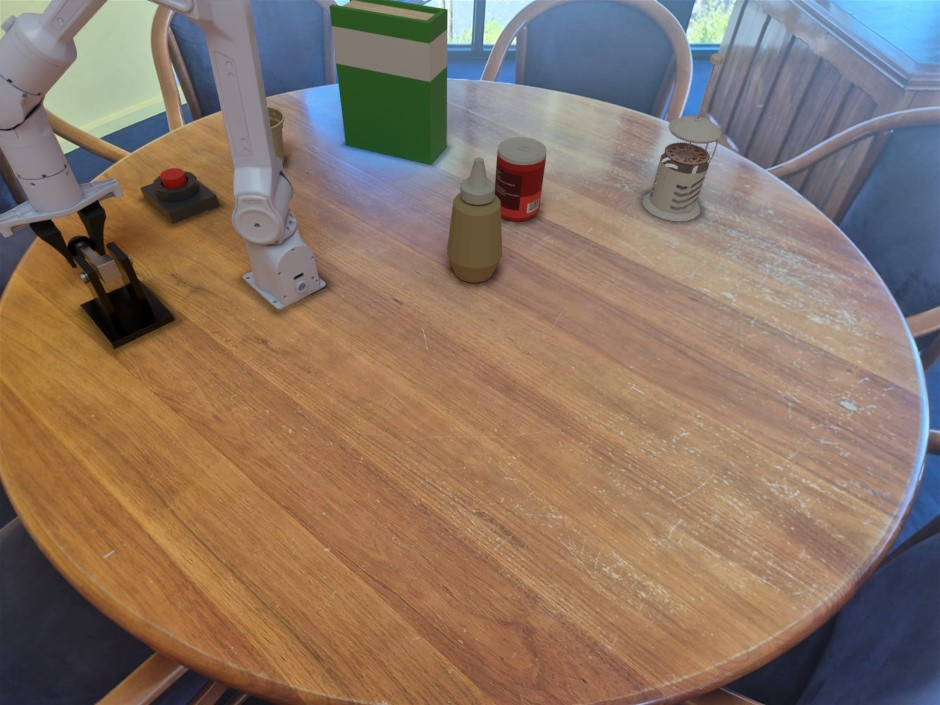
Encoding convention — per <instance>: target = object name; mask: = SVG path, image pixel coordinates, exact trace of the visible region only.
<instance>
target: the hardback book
mask: <svg viewBox="0 0 940 705" xmlns="http://www.w3.org/2000/svg"><path fill="white" fill-rule="evenodd" d="M448 11H449V10H448V9H447V8H443V7H442V8H441V7H436V6H430V5H424V4H418V3H412V2H406V1H399V0H349V1H348V2H347V3H345V4H343V5H338V4H329V15H330V23H331V24H330V25H331V33H332V40H333V49H334V58H335V66H336V74H337V82H338V92H339V100H340V108H341V115H342V116H341V117H342V124H343V125H342V126H343V133H344V140H345V141H344V142H345V143H344V144H345V146H348V147H352V148H356V149H357V148H358V149H360V150H361V149H362V150H364V151H365V150H366V151H370V152H374V153H378V154H383V155H388V156H392V157H395V158H399V159H405V160H409V161H413V162H418V163H421V164H426V165H432V164H433V163H434V162H435V161H436V160H437V158H439V157H440V155H441V154H442V153H443V152H444V151H445V150H446V148H447V145H448V138H447V137H448V26H449V24H448V21H449V20H448V15H449V14H448V13H449V12H448Z"/></svg>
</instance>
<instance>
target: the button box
mask: <svg viewBox="0 0 940 705" xmlns="http://www.w3.org/2000/svg"><path fill="white" fill-rule="evenodd" d="M183 171H184V173H185V176H186V179H187V183H186V184H185V185H184V186H181V187H178V188H165V187H164V186H163V183H162V180H161V178H160V175H159V176H157V177H156V178H155V179H154V180H153V182H152V183H149V184H146V185H143V186H141V187H140V191H141V194H142V196H143V198H144V200H145V201H147V203H149V204H150V205H151V206H152V207H153V208H154V209H155V210H156V211H157V212H159V213H160V214H161V215H162V216H163V217H164V218H165V219H166V220H168V222H170V223H171V224H172V225H174V224H176V223H177V224H178V223H179V222H181V221H184V220H187V219H189V218H192V217H194V216H197V215H200V214H201V213H205V212H207V211H212V210H215V209H217V208H220V203H219V200H218V197H217V194H215V193H214V192H213V191H212V190H211V189H210V188H208V187H207V186H206V185H205V184H203V183H202V182H201V181H199V180H198V177H197V176H196V175H195V174H194V173H193V172H191V171H185V170H183Z"/></svg>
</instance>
